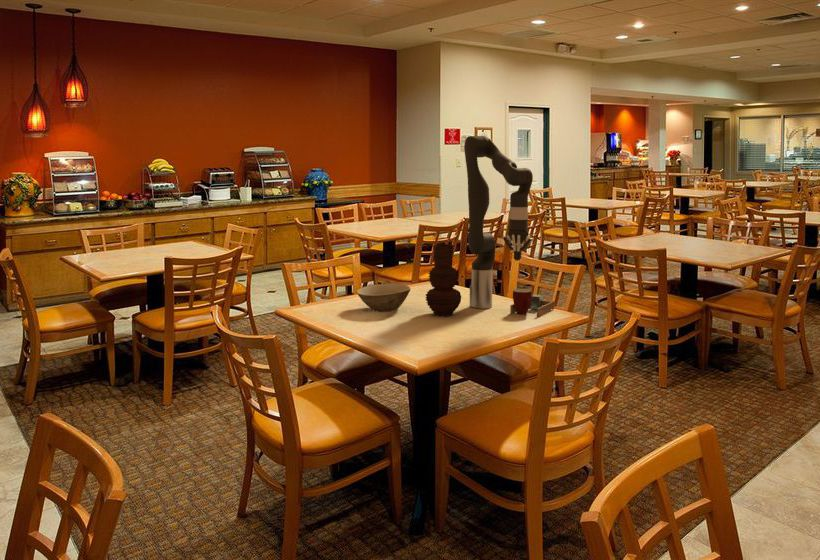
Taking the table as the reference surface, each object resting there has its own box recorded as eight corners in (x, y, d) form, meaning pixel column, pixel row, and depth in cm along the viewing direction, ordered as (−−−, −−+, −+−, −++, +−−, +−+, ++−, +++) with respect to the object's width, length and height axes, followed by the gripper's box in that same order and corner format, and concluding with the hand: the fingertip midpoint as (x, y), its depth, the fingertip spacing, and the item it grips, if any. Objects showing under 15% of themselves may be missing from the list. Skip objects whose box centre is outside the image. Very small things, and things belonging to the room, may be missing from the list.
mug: (538, 315, 292) (539, 292, 290) (522, 317, 289) (523, 294, 287) (524, 310, 301) (524, 288, 300) (508, 312, 298) (509, 289, 296)
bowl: (347, 313, 298) (347, 291, 296) (371, 302, 320) (370, 281, 318) (397, 318, 290) (397, 294, 288) (418, 306, 311) (418, 284, 309)
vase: (417, 314, 295) (417, 245, 289) (441, 308, 306) (441, 241, 300) (445, 320, 284) (445, 248, 279) (468, 314, 295) (468, 244, 290)
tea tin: (530, 309, 303) (531, 296, 302) (534, 307, 307) (534, 294, 306) (539, 310, 301) (539, 297, 300) (542, 308, 304) (543, 295, 303)
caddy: (510, 313, 296) (510, 305, 295) (526, 305, 310) (526, 298, 309) (538, 317, 289) (538, 308, 288) (553, 309, 303) (554, 301, 302)
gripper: (499, 217, 279) (498, 260, 282) (529, 219, 272) (528, 262, 275) (507, 216, 285) (506, 257, 288) (537, 218, 278) (536, 260, 281)
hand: (517, 260), depth 281 cm, fingers closed
